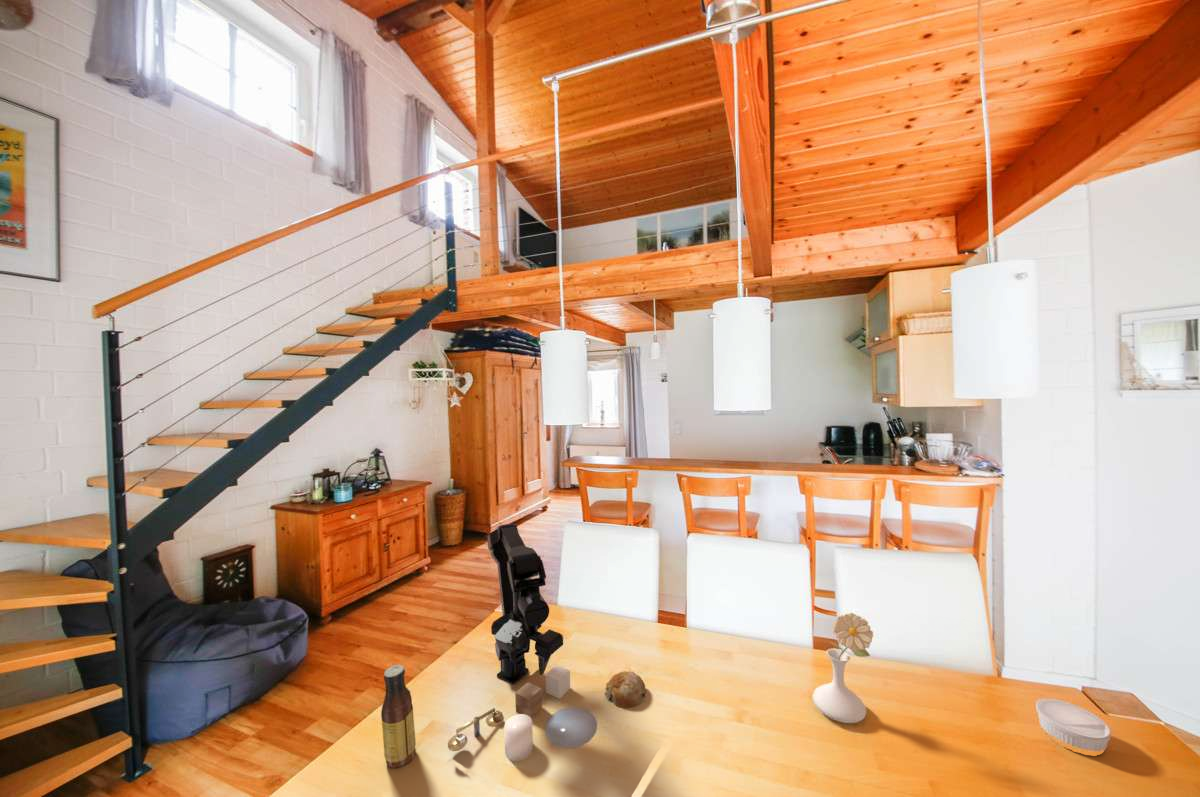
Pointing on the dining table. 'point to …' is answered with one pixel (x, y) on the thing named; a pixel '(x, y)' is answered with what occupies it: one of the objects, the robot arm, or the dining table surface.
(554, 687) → the beige block
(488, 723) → the balance
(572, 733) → the dish
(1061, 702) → the ramekin
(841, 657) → the flower in vase
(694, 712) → the dining table surface
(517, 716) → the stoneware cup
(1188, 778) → the dining table surface
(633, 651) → the dining table surface
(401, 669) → the sauce bottle
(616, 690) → the bread roll
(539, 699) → the walnut block
